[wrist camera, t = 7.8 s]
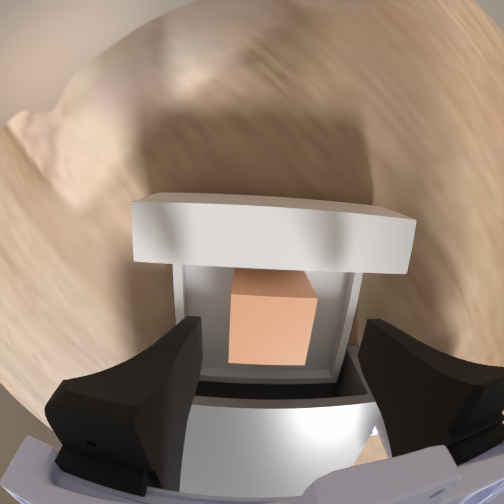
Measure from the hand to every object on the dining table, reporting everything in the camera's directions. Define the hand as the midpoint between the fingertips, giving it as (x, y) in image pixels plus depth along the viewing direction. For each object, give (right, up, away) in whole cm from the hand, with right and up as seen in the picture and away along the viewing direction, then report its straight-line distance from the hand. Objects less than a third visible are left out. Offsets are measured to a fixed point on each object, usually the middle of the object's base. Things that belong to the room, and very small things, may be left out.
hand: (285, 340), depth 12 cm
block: (0, 0, +7) cm, 8 cm away
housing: (-1, -11, +12) cm, 17 cm away
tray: (0, +1, +8) cm, 8 cm away
